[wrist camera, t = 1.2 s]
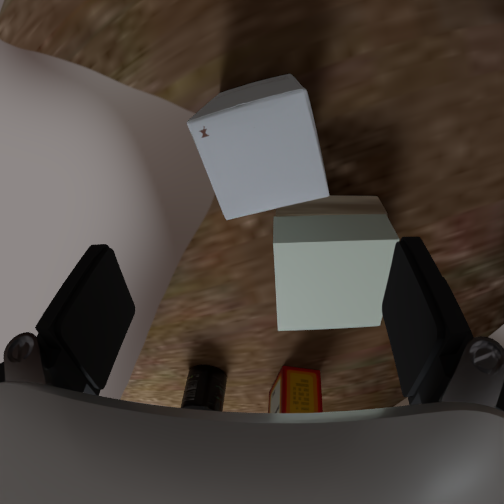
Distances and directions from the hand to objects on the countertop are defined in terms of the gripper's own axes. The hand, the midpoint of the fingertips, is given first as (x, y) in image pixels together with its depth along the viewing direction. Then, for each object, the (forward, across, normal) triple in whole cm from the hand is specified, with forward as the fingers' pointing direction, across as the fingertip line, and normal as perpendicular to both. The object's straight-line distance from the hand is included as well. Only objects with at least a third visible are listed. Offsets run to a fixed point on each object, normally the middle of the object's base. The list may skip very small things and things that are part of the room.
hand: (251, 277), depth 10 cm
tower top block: (+19, -6, +14) cm, 24 cm away
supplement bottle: (+23, +13, +42) cm, 49 cm away
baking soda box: (+23, -2, +44) cm, 50 cm away
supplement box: (+24, 0, 0) cm, 24 cm away
